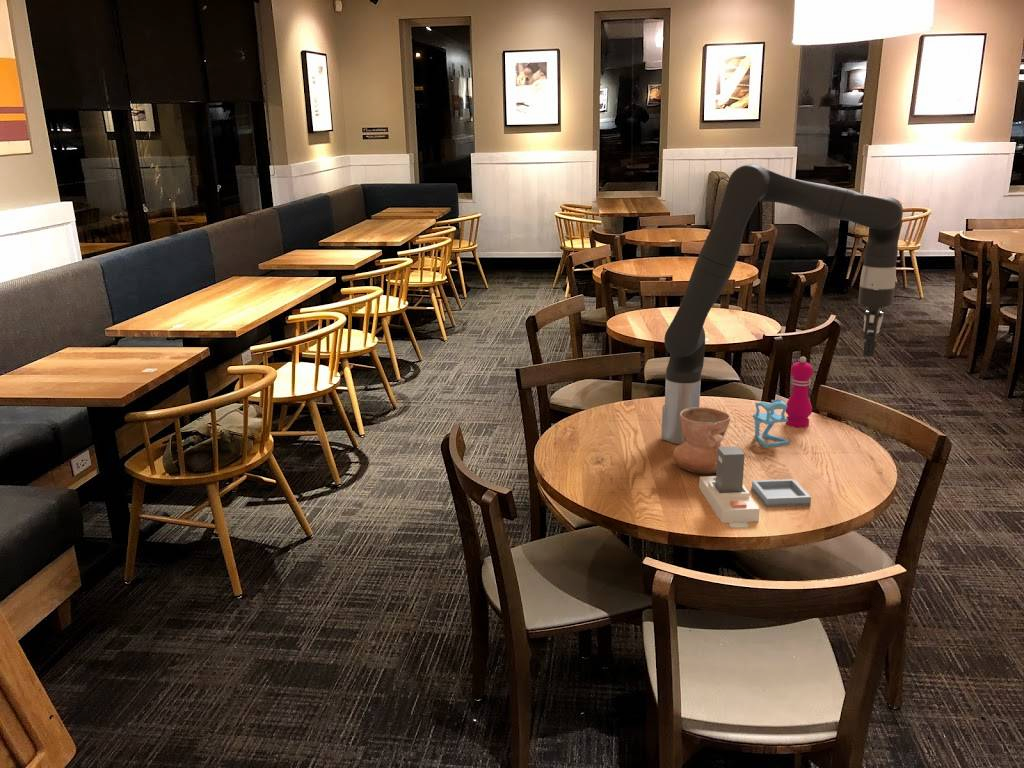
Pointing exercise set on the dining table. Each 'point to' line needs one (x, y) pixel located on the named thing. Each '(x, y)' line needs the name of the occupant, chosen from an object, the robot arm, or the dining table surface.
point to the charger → (729, 469)
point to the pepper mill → (799, 395)
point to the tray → (781, 493)
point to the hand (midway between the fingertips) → (869, 351)
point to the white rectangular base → (729, 502)
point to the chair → (770, 421)
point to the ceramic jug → (701, 439)
